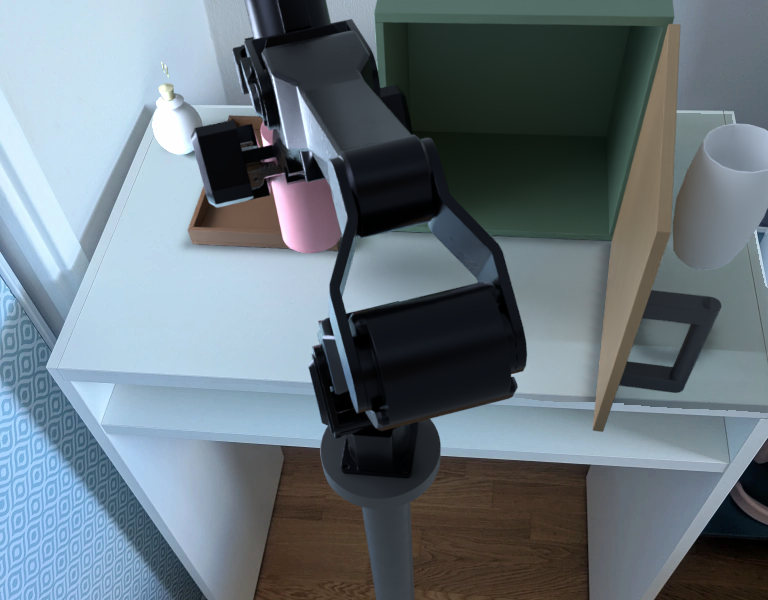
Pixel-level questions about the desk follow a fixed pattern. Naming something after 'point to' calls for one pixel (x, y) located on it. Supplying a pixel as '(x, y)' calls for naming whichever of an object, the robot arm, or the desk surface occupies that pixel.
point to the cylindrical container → (304, 210)
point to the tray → (239, 215)
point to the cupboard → (527, 103)
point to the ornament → (174, 120)
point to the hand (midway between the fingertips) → (300, 165)
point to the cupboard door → (648, 256)
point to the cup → (722, 196)
